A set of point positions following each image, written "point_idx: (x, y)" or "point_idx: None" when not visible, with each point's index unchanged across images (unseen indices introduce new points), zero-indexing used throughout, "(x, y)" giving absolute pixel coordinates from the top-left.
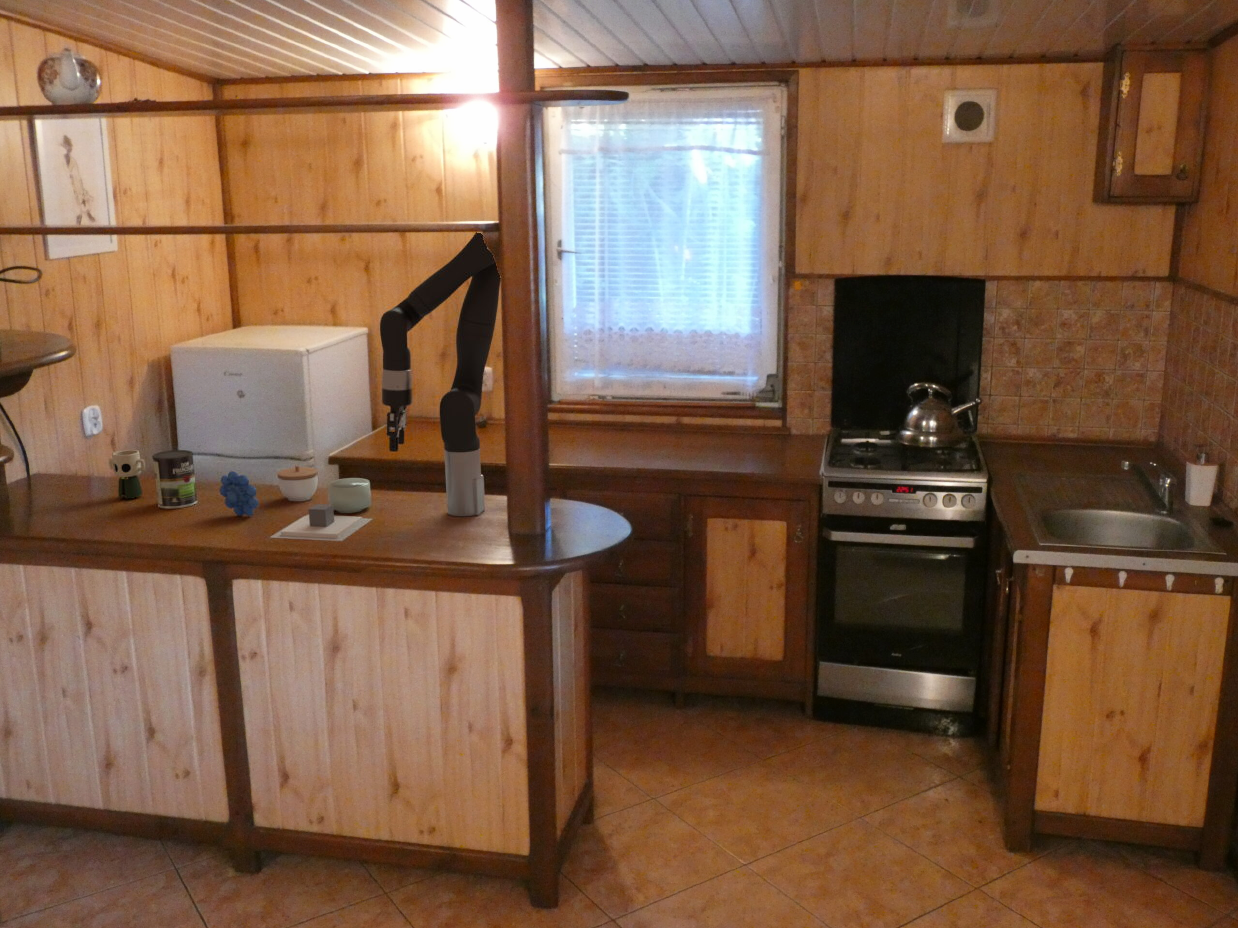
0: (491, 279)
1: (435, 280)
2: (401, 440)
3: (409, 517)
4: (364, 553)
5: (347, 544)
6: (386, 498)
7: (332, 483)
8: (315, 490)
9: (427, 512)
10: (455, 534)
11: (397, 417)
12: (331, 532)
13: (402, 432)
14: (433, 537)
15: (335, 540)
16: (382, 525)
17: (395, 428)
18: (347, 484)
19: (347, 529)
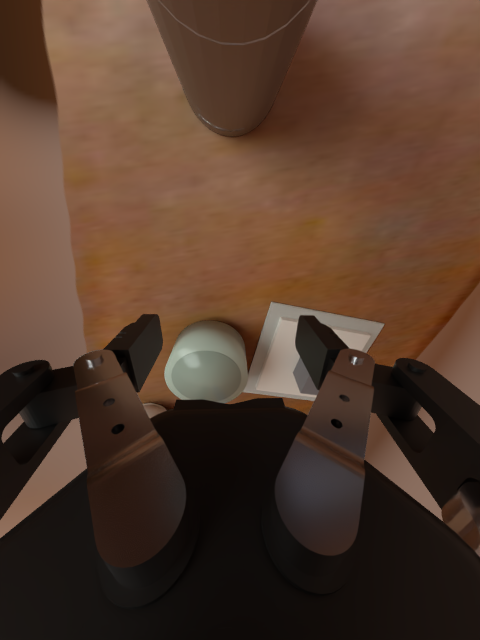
0: None
1: None
2: (154, 330)
3: (263, 235)
4: (460, 279)
5: (398, 313)
6: (129, 303)
7: (211, 400)
8: (145, 408)
9: (228, 197)
10: (432, 83)
11: (431, 514)
12: (358, 344)
13: (135, 350)
14: (429, 151)
15: (378, 332)
16: (308, 279)
17: (472, 410)
18: (219, 378)
19: (335, 327)
